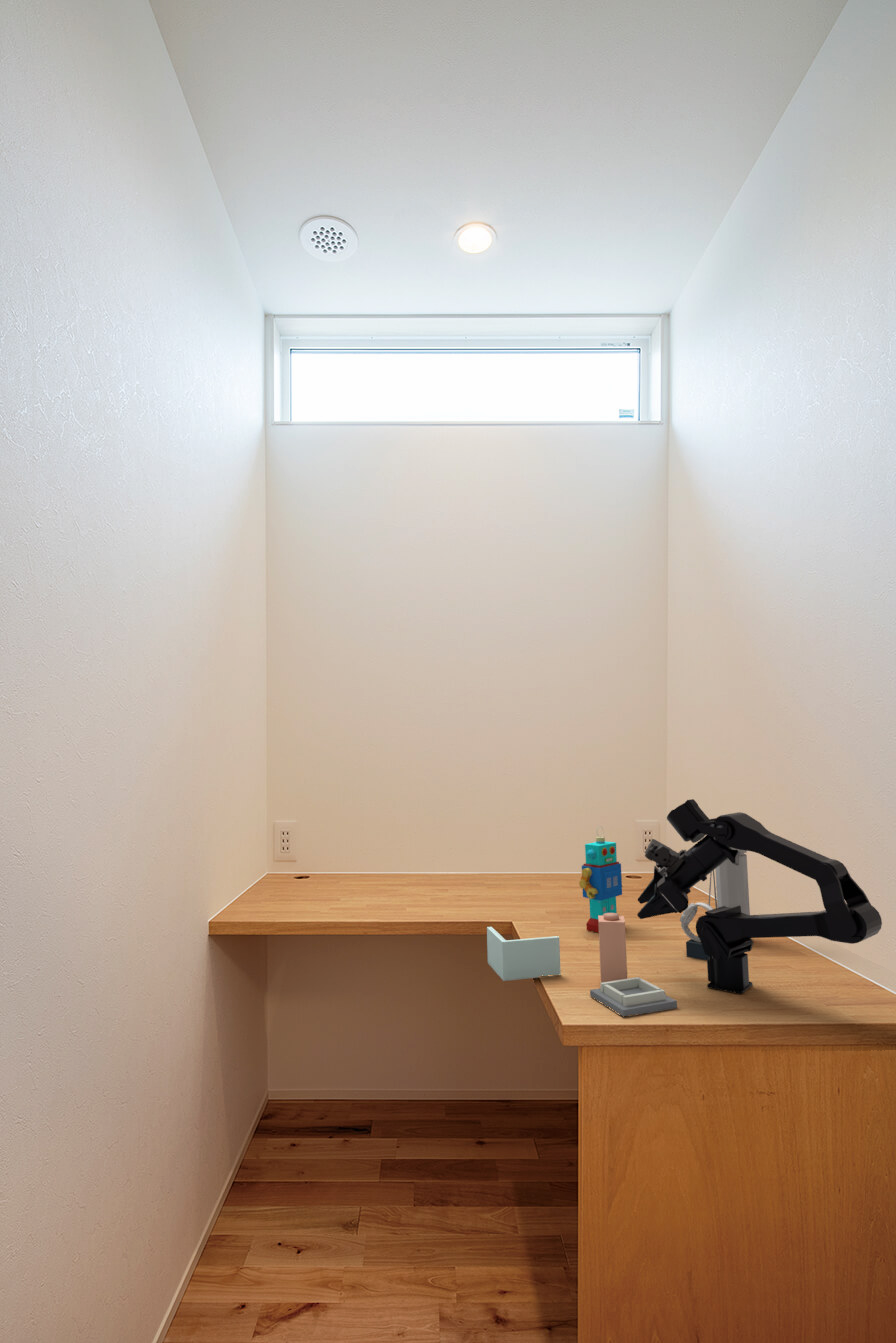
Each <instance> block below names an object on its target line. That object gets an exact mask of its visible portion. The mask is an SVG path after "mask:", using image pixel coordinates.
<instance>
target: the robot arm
mask: <svg viewBox="0 0 896 1343" xmlns="http://www.w3.org/2000/svg"><path fill="white" fill-rule="evenodd" d="M666 820H667V821H668V823H669V824H670V825H671V826H672V827H673V829H674V830H675V831H676V833H677V834H678V835H679V836H680V837H681V839H682V840H683V841H684V842H685V843H686V842H691V843H693V844H694V843H695V844H694V845H692V847H690V848H689V849H681V850H680V851H679V852H677V851H676V850H674V849H672V848H671V847H669V846H668V845H666V844H664V843H662V842H660V841H658V840H657V839H654V838H652V839H651V841H650V842H649V843H648V846H647V847H646V848H645V851H644V857H645V858H646V859H648V860H649V861H651V862H652V861H653V862H655V865H653V877H652V879H651V880H650V882H649V883H648V885H647V886H646V887H645V889H643V891H642V893H641V894H640V895H639V896H638V898H637V901H638V903H639V904H640V905H642V904H644V905H643V907H641V909H640V910H639V911H638V913H637V914H636V916H637V917H638V919H640V920H643V919H648V918H652V917H657V916H661V915H662V916H663V915H669V914H677V913H679V914H682V913H683V912H684V910H686V909H687V908H688V905H689V897H688V894H690V893H691V888H693V887H694V886H695V885H696V884H698V883H699V882H700V881H702V882H705V881H707V880H708V877H707V876H708V875H709V874H710V872H712V873H713V870H714V871H715V869H716V868H717V867H718V866H719V865H721V864H722V863H723V862H724V861H726V860H727V859H729V860H730V861H731V862H732V863H733V864H735V865H736V866H738V865H739V855H740V851H738V850H733V849H732V848H735V849H739V850H746V851H747V852H753V853H756V854H758V855H761V856H763V857H766V858H768V859H769V860H771V861H774V862H776V863H778V864H781V865H782V866H783V867H784V866H785V867H787V868H789V869H791V870H793V871H795V872H797V873H800V874H802V875H804V876H806V877H808V878H811V879H813V880H815V881H816V884H817V886H818V887H819V891H820V895H821V899H822V904H823V907H824V909H823V910H821V911H819V910H817V911H804V912H785V913H769V914H768V913H767V914H766V913H765V914H763V913H762V914H750V915H747V914H744V913H741V906H736V907H732V908H730V907H726V906H722V907H719V908H716V907H715V908H713V909H712V910H709V911H707V910H706V911H704V913H705V914H703V915H700V917H698V918H697V920H696V923H695V932H696V934H697V935H696V936H698V937H699V938H700V941H701V944H702V947H703V950H704V953H705V955H707V956H709V959H708V960H706V964H707V966H706V967H707V981H708V983H707V984H706V987H707V988H709V989H714V990H719V991H724V992H728V993H734V994H739V995H741V994H742V995H743V994H744V993H745V992H746V991H747V990H749V989H750V988H751V987H752V986H753V982H752V981H750V975H749V974H750V973H749V972H750V971H749V957H748V956H749V955H748V952H751V951H752V949H753V945H754V940H753V939H759V938H761V939H764V938H765V939H767V938H795V937H796V938H797V937H799V938H800V937H819V938H823V939H824V940H825V939H826V940H829V941H830V942H838V943H843V944H853V945H854V944H859V943H860V942H863V941H866V940H868V939H869V938H873V936H875V935H878V933H879V932H880V931H881V929H882V925H883V922H882V921H883V920H882V917H881V914H880V912H879V910H877V909H876V907H874V906H873V905H872V904H871V902H870V900H869V898H868V897H867V894H866V893H865V892H864V890H863V889H862V888H861V886H859V885H858V883H857V882H856V881H855V879H853V878H852V876H851V874H850V873H849V871H848V869H847V867H846V866H845V865H844V863H842V862H841V861H839V860H837V859H835V858H834V859H833V858H830V857H827V856H825V855H824V854H821V853H819V852H816V851H814V850H812V849H809V848H808V847H807V848H806V847H805V846H802V845H800V844H797V843H795V842H793V841H791V840H789V839H786V838H785V837H782V836H779V835H777V834H775V833H773V832H771V831H770V830H768V829H767V828H766V827H765V826H764V825H763V824H762V823H761V822H760V821H758V820H757V819H755V818H753V817H752V816H750V815H748V814H747V813H746V812H733V813H727V814H721V815H719V816H717V817H714V818H709V817H708V816H707V814H706V813H705V812H704V811H703V810H702V809H701V808H700V806H699V805H698V803H697V801H696V800H695V799H687V800H686V801H685V802H684V803H681V804H680V805H678V806H677V807H675V808H674V809H672V810H670V811H669V813H668V814H667V816H666Z"/></svg>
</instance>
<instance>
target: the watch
mask: <svg viewBox="0 0 896 1343" xmlns="http://www.w3.org/2000/svg"><path fill="white" fill-rule="evenodd" d="M698 907H701V908H703V909H705V910H706V911H709V910H712V909H714V908H713V907H712V906H711V905H710V906H709V905H708V903H705V902H701V901H700V902H695V903H694V902H691V903H688V908H687V909H686V910H684V911H683V912H682V913H681V916H680V918H679V921H680V927H681V929H682V931H683V932H684V934H685V935H686V936H687V937H688V938H689V940H687V941H686V942H685V949H686V950H685V952H686V953H685V954H686V957H687V958H692V959H697V960H702V961H707V960H708V959H709V956H707V955H705V953H704V950H703V947H702V944H701V941H700V938H699V937H698V935H696V934H695V933H693V932H692V931H691V929H690V928H689V925H690V923H691V922H692V920H694V918H695V917H696V914H697V913H698Z"/></svg>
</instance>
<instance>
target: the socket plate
mask: <svg viewBox="0 0 896 1343" xmlns="http://www.w3.org/2000/svg"><path fill="white" fill-rule="evenodd" d="M599 984H600V988H594V989H589V996H591V997H590V998H592V997H593V998H595V999H597V1000H598V1001H600V1002H602V1003H603V1004H605V1005H606V1006H608V1007H610V1008H611V1009H613V1010H614V1011H616V1012H617V1013H619V1014H620V1015H622V1016H629V1015H635V1016H637V1015H636V1014H640V1015H644V1014H643V1013H646V1014H650V1013H651V1012H652V1013H656V1012H662V1011H668V1010H672V1009H678V1001H677V1000H676V999H674V998H672V997H670V996H669V995H666V991H665V989H661V987H658V986H656V985H655V984H653V983H651V982H649V981H647V980H645V979H643V978H641V977H640V976H636V977H629V978H628V977H627V979H622V980H616V981H609V982H603V983H601V982H599ZM593 998H592V999H593ZM595 999H594V1000H595ZM598 1001H597V1002H598ZM600 1002H599V1003H600ZM603 1004H602V1005H603ZM606 1006H605V1007H606ZM611 1009H610V1010H611ZM614 1011H613V1012H614ZM617 1013H616V1014H617ZM619 1014H618V1015H619ZM620 1015H619V1016H620ZM622 1016H621V1017H622ZM629 1017H630V1016H629Z"/></svg>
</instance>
